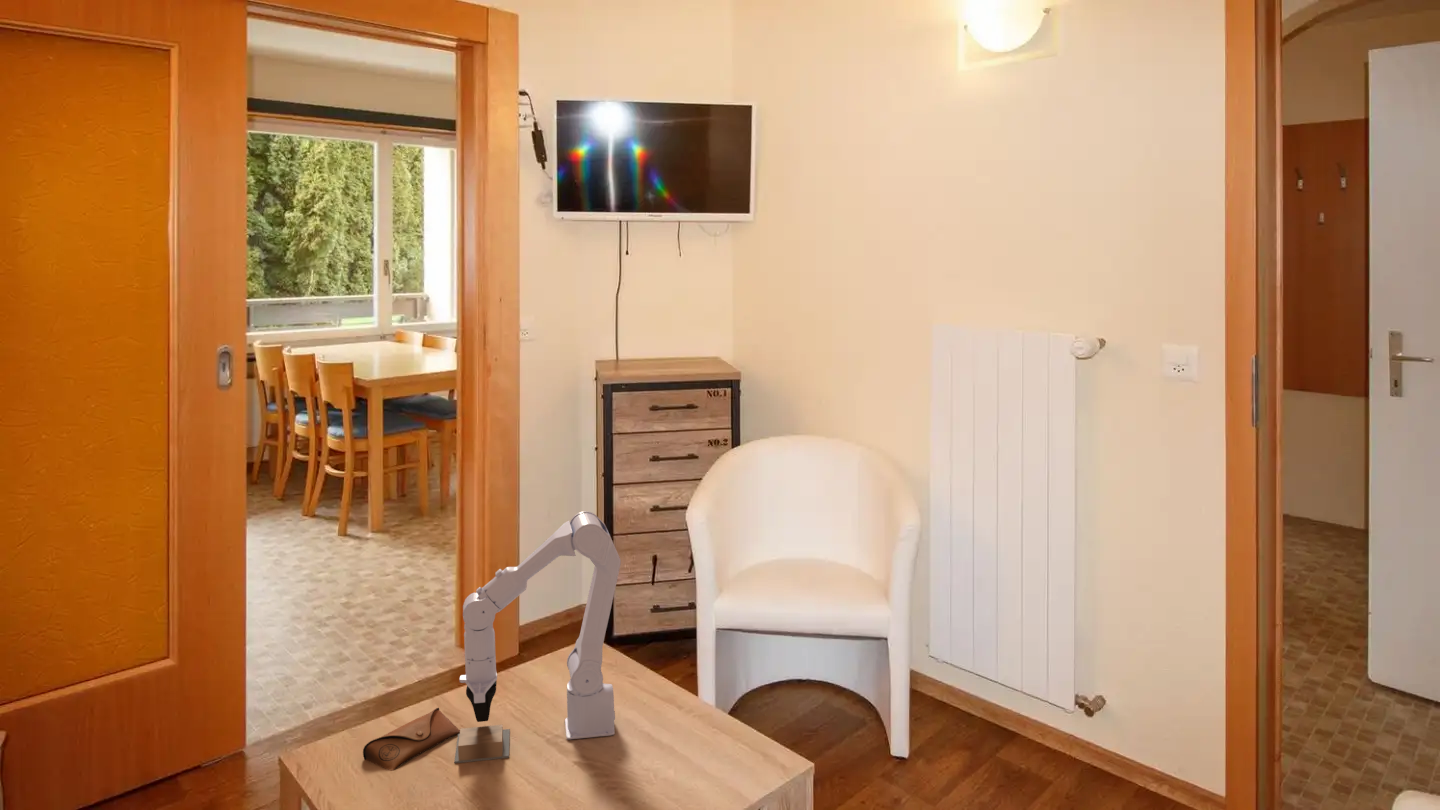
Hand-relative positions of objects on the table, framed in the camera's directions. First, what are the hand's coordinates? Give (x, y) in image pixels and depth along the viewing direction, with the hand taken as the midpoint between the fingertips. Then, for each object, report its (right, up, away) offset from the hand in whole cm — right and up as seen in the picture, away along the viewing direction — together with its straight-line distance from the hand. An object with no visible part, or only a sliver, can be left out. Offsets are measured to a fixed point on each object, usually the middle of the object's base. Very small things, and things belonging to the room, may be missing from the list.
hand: (482, 719), depth 179 cm
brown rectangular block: (0, -3, 0) cm, 3 cm away
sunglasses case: (-13, -5, -1) cm, 14 cm away
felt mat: (0, -5, -1) cm, 5 cm away
